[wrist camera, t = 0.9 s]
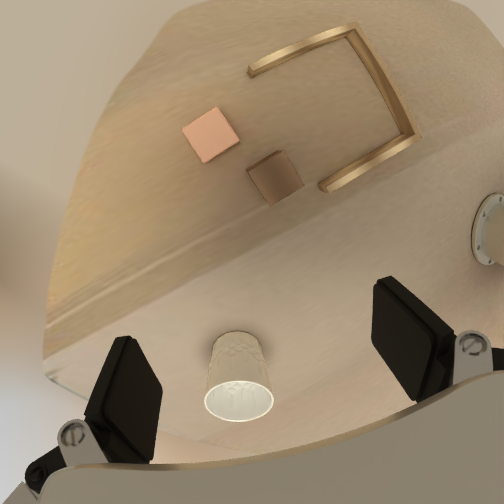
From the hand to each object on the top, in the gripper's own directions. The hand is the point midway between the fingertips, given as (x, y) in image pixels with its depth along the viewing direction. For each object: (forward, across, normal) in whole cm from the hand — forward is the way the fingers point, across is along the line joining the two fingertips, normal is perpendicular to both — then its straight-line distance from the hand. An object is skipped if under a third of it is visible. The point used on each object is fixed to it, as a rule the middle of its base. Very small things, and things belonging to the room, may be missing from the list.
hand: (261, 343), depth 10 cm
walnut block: (+22, -5, -3) cm, 23 cm away
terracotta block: (+23, 0, -9) cm, 24 cm away
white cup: (+23, +4, +19) cm, 30 cm away
